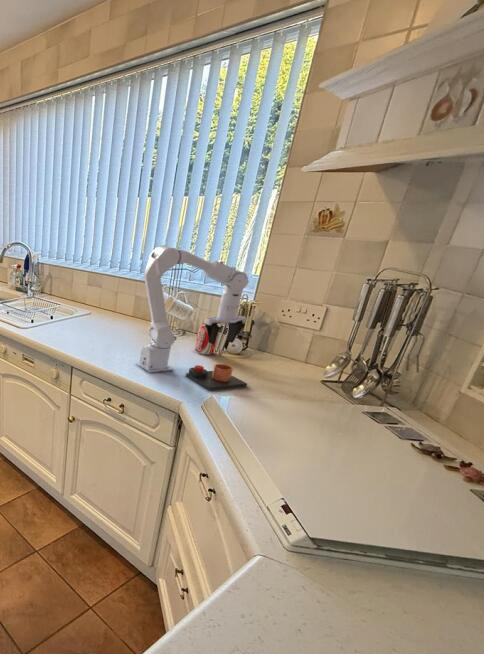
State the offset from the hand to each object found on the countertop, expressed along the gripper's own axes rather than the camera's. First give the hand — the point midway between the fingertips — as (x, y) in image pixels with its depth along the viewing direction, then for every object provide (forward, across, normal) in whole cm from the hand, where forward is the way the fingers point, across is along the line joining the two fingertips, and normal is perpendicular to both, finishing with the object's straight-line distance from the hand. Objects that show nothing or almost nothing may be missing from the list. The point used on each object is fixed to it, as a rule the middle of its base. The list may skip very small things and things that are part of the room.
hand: (220, 342), depth 142 cm
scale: (+10, -8, -10) cm, 16 cm away
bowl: (+9, -7, -11) cm, 16 cm away
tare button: (+8, -12, -6) cm, 16 cm away
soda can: (+11, +8, +16) cm, 21 cm away
